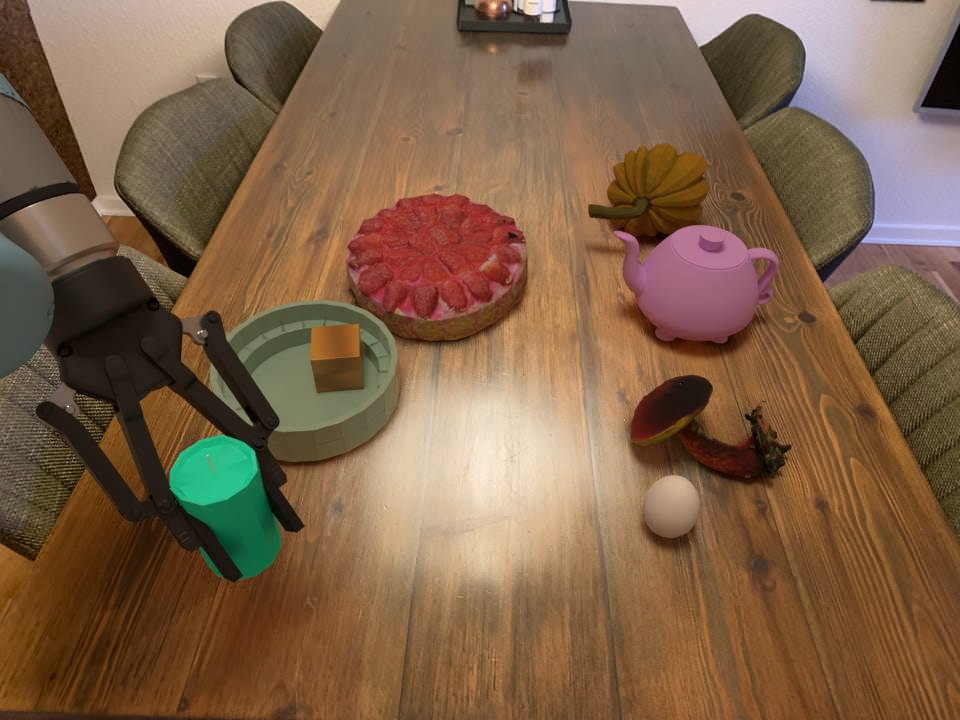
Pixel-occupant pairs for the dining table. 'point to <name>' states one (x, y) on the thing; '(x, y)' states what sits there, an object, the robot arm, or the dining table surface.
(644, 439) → the mushroom
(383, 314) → the cake
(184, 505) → the candle
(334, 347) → the block
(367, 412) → the bowl
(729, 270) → the teapot
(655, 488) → the egg
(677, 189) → the fruit
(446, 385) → the dining table surface
